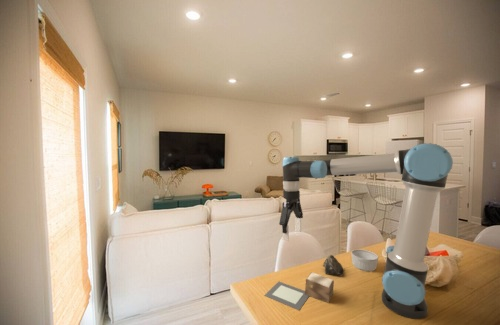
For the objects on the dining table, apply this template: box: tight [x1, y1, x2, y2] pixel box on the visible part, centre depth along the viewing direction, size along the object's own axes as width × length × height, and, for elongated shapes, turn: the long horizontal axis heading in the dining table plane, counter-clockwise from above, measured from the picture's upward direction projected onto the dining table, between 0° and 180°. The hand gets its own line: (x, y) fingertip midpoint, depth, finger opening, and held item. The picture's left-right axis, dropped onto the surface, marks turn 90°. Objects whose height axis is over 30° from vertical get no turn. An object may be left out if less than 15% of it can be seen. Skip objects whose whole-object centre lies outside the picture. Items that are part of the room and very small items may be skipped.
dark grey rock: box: [322, 254, 345, 277], centre depth 114 cm, size 11×9×10 cm
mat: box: [263, 281, 310, 311], centre depth 96 cm, size 16×13×1 cm
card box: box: [304, 272, 335, 304], centre depth 95 cm, size 10×7×7 cm
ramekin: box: [350, 248, 379, 272], centre depth 120 cm, size 13×13×7 cm
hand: (292, 235), depth 102 cm, fingers open, 13 cm apart
